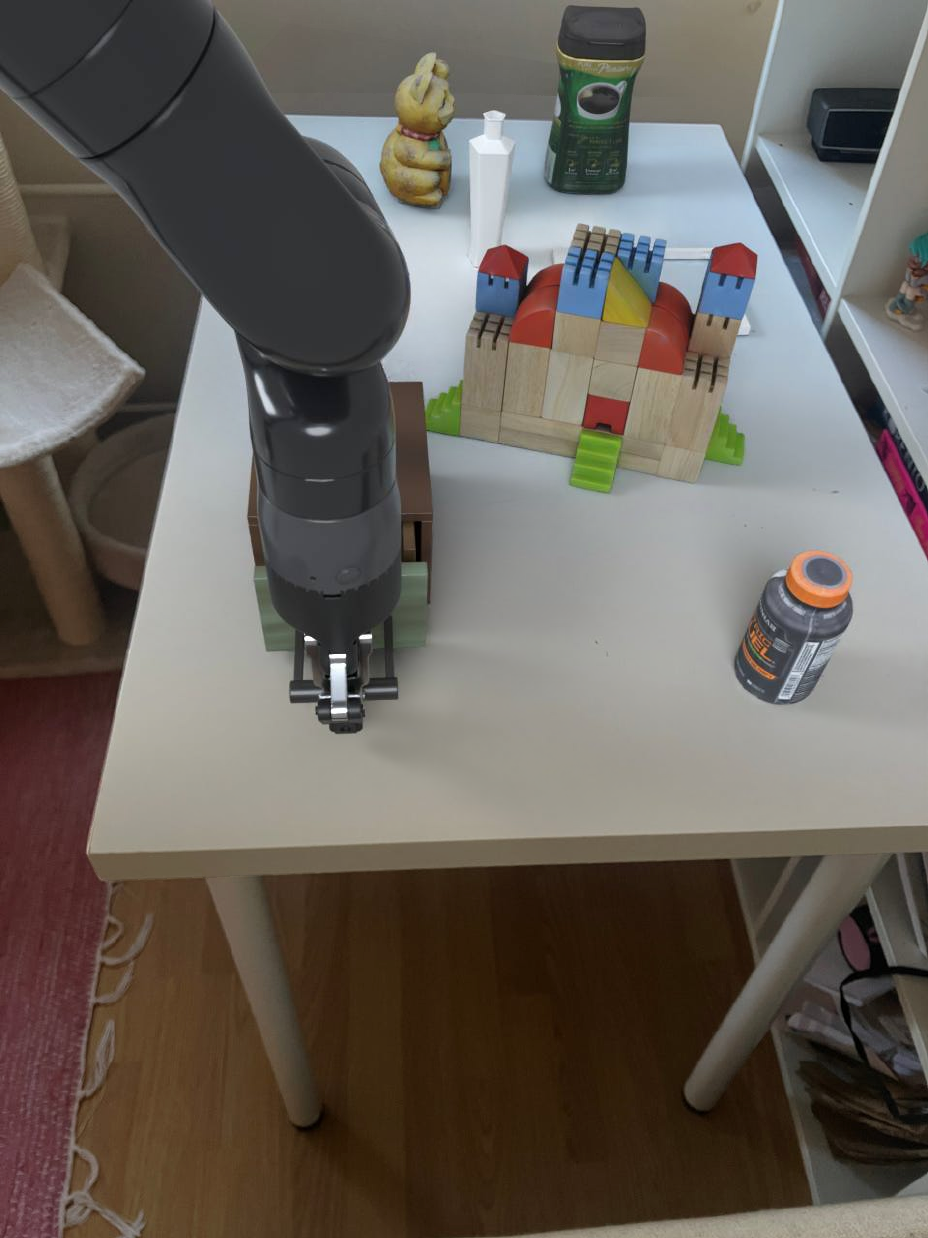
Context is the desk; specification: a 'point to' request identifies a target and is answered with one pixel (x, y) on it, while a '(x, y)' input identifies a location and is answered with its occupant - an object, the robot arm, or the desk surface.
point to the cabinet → (408, 472)
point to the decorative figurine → (420, 137)
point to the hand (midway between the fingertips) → (346, 714)
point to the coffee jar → (594, 98)
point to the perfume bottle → (489, 185)
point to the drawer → (392, 633)
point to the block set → (602, 359)
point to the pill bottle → (795, 628)
